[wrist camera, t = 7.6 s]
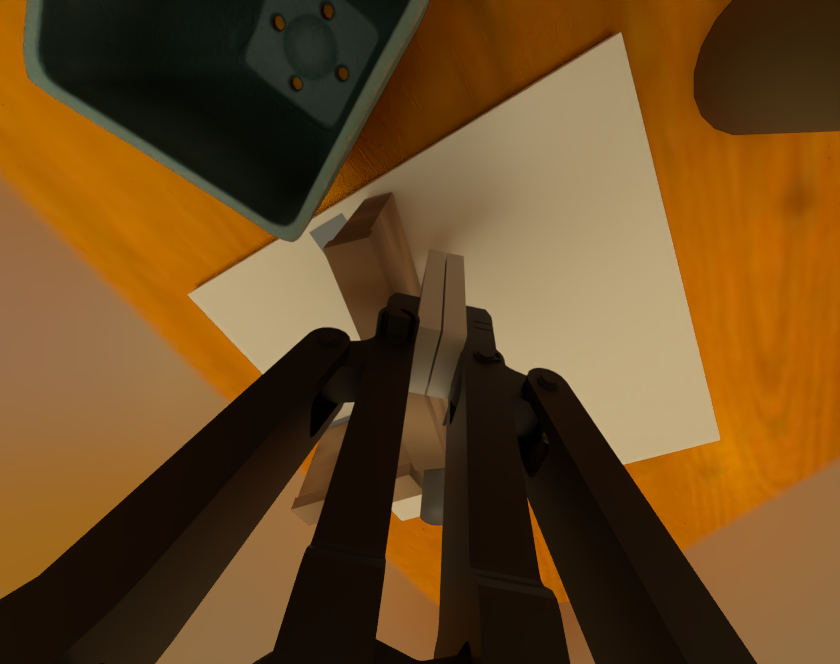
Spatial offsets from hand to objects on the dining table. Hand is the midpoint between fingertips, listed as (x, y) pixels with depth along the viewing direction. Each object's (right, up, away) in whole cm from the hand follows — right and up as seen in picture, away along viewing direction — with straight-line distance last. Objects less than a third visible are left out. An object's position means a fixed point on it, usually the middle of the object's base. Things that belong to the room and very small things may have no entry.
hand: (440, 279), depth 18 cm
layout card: (+2, -5, +8) cm, 10 cm away
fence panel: (-1, -1, +5) cm, 5 cm away
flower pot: (-6, +10, 0) cm, 12 cm away
